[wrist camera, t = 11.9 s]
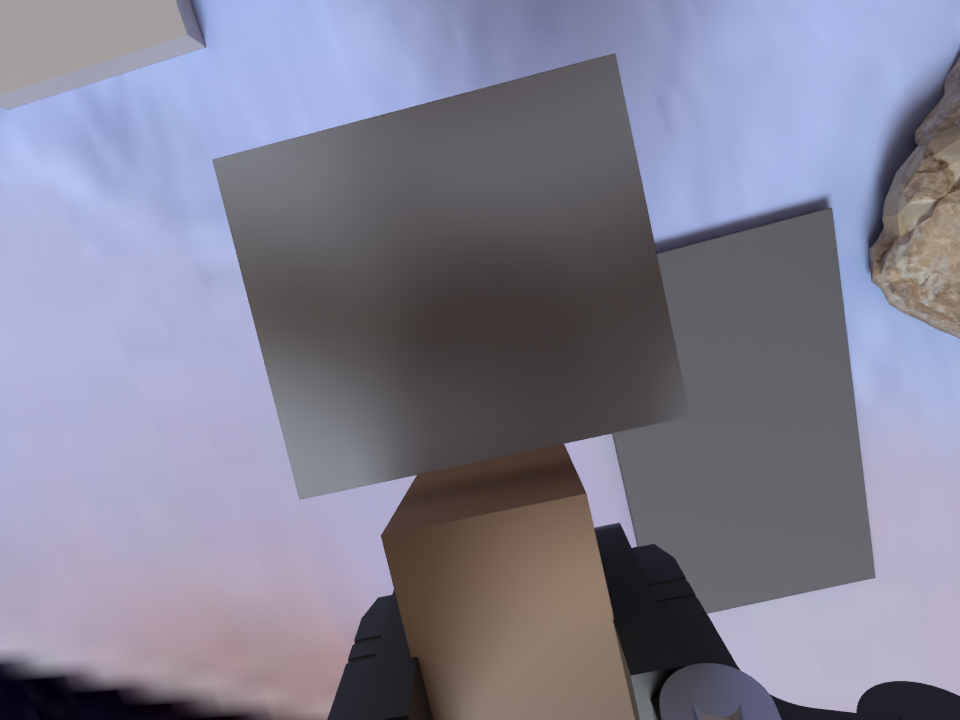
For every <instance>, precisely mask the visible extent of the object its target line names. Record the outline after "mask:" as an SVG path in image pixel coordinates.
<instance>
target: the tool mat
mask: <svg viewBox="0 0 960 720" xmlns="http://www.w3.org/2000/svg"><path fill="white" fill-rule="evenodd" d="M657 258H658V263H659V267H660V272H661V277H662V282H663V287H664V291H665V296H666V301H667V306H668V311H669V316H670V320H671V325H672V330H673V335H674V340H675V344H676V349H677V354H678V359H679V364H680V369H681V373H682V378H683V383H684V388H685V393H686V397H687V402H688V407H689V412H690V417H687V418H682V419H677V420H672V421H668V422H663V423H658V424H654V425H649V426H644V427H640V428H635V429H630V430H625V431H621V432H616V433H612V435H613V440H614V444H615V448H616V453H617V457H618V462H619V466H620V471H621V475H622V480H623V484H624V489H625V493H626V498H627V502H628V506H629V511H630V515H631V520H632V524H633V529H634V533H635V538H636V542H637V547H640V546H645V545H650V544H655V545H657V546H658V547H659V548H661V549H662V550H664V551H665V552H667V553H668V554H670V555H671V556H672V557H674V558H675V560H676V561H677V563H678V565H679V567H680V568H681V570H682V572H683V573H684V575H685V577H686V580H687V581H688V582H689V584H690V586H691V587H692V589H693V591H694V592H695V595H696V598H698V599H699V601H700V603H701V604H702V606H703V608H704V610H705V611H706V613H707V614H708V613H712V612H717V611H722V610H726V609H731V608H736V607H740V606H745V605H750V604H754V603H759V602H764V601H769V600H773V599H778V598H783V597H787V596H792V595H797V594H801V593H806V592H811V591H815V590H820V589H825V588H830V587H834V586H839V585H844V584H848V583H853V582H858V581H862V580H867V579H872V578H875V570H874V562H873V553H872V545H871V536H870V528H869V519H868V511H867V502H866V494H865V485H864V477H863V468H862V460H861V451H860V443H859V434H858V426H857V417H856V409H855V400H854V392H853V383H852V375H851V366H850V358H849V349H848V341H847V332H846V324H845V315H844V307H843V298H842V290H841V281H840V273H839V264H838V256H837V247H836V239H835V230H834V222H833V213H832V208H827V209H821V210H818V211H814V212H810V213H806V214H803V215H799V216H795V217H791V218H787V219H784V220H780V221H776V222H772V223H769V224H765V225H761V226H757V227H753V228H750V229H746V230H742V231H738V232H735V233H731V234H727V235H723V236H719V237H716V238H712V239H708V240H704V241H701V242H697V243H693V244H689V245H685V246H682V247H678V248H674V249H670V250H667V251H663V252H659V253H657Z"/></svg>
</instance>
